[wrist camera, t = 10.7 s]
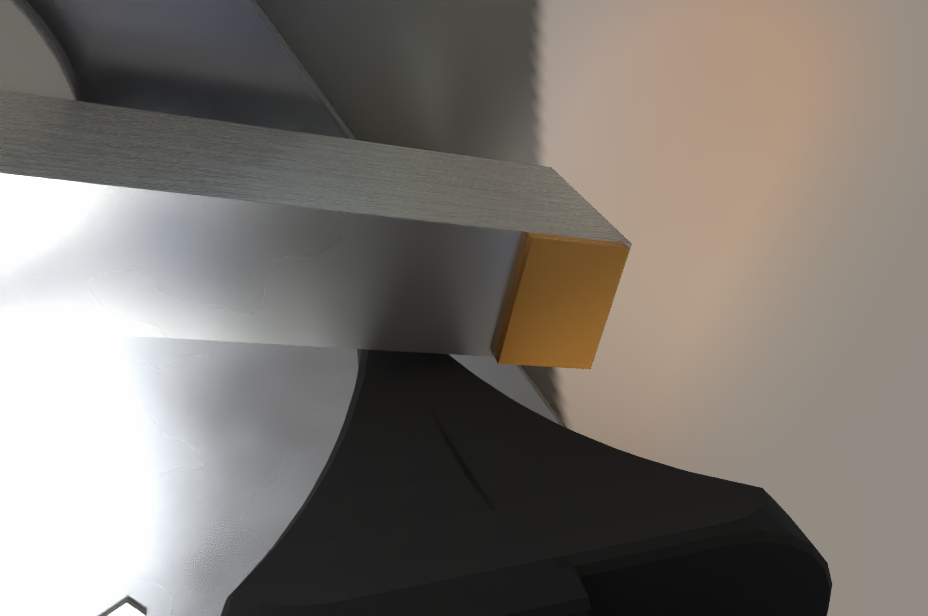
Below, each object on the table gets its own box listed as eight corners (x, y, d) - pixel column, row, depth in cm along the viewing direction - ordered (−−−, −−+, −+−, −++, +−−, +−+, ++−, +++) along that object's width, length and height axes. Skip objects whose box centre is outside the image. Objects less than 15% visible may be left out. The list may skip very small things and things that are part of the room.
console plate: (-822, 286, 10) (-947, 338, 9) (3, -358, 9) (-28, -387, 8) (230, 834, 21) (231, 889, 20) (663, 555, 20) (689, 596, 19)
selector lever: (-336, 282, 10) (-570, 464, 7) (-434, -150, 8) (-821, -154, 5) (487, 336, 14) (563, 473, 11) (563, 43, 12) (684, 110, 9)
